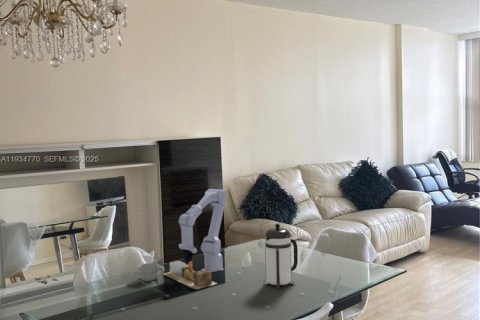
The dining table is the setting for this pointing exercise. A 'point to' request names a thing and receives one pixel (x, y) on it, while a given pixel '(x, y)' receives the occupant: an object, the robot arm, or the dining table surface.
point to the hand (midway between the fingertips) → (188, 264)
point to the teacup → (149, 271)
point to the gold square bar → (189, 271)
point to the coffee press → (279, 256)
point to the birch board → (186, 280)
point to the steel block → (178, 268)
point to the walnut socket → (202, 278)
